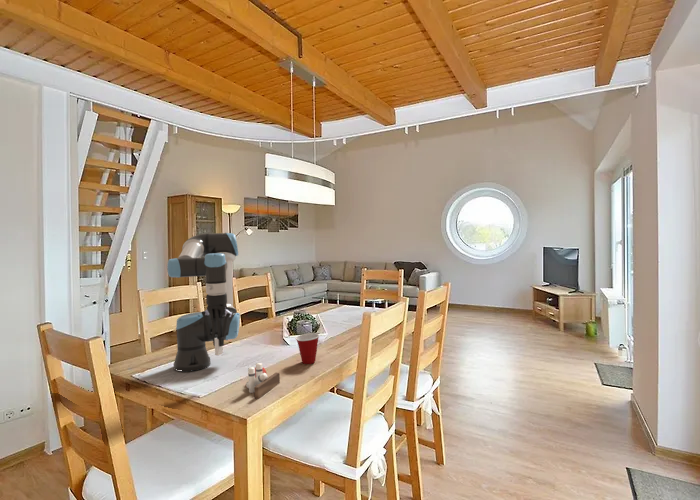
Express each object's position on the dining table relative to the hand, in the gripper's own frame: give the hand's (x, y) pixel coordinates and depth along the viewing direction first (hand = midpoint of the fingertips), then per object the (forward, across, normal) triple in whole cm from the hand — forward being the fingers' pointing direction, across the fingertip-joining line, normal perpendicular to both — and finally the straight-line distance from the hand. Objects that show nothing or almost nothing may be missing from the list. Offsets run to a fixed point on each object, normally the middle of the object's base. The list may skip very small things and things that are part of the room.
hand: (219, 354), depth 151 cm
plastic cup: (+12, +22, +32) cm, 41 cm away
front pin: (+11, +13, -1) cm, 17 cm away
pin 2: (+12, +16, +2) cm, 20 cm away
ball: (+9, +14, +6) cm, 17 cm away
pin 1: (+12, +16, -3) cm, 20 cm away
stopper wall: (+12, +21, -1) cm, 24 cm away
